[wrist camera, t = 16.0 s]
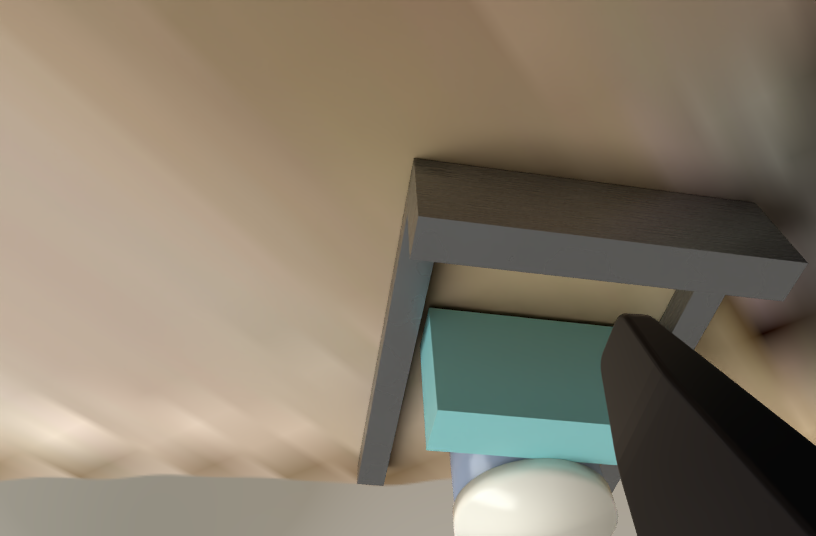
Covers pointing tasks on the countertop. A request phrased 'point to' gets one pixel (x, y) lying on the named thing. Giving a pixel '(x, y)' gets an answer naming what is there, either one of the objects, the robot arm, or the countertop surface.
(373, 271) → the countertop surface
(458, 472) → the jar
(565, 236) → the gray u-shaped archway
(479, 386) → the teal foam pad
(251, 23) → the countertop surface
